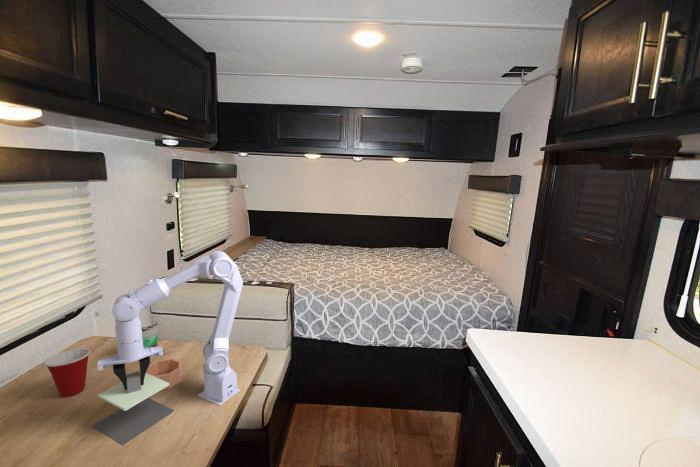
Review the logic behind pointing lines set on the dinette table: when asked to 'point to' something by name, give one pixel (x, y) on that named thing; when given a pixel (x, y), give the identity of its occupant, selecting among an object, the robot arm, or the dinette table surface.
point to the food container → (150, 336)
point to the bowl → (166, 371)
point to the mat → (132, 420)
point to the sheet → (133, 391)
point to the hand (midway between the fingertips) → (134, 385)
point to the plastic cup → (69, 370)
